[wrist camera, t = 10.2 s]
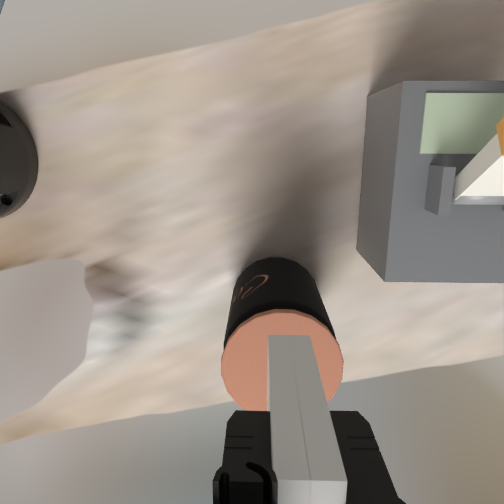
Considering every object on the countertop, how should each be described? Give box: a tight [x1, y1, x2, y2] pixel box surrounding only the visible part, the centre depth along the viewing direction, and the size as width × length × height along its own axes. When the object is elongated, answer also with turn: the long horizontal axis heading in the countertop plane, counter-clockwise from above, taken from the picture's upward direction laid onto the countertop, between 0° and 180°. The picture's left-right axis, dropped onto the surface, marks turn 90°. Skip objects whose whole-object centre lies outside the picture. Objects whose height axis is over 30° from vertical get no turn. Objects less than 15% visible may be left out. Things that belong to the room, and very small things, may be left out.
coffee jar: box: [221, 258, 344, 411], centre depth 44 cm, size 11×11×18 cm
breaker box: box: [356, 81, 504, 283], centre depth 41 cm, size 14×18×15 cm
